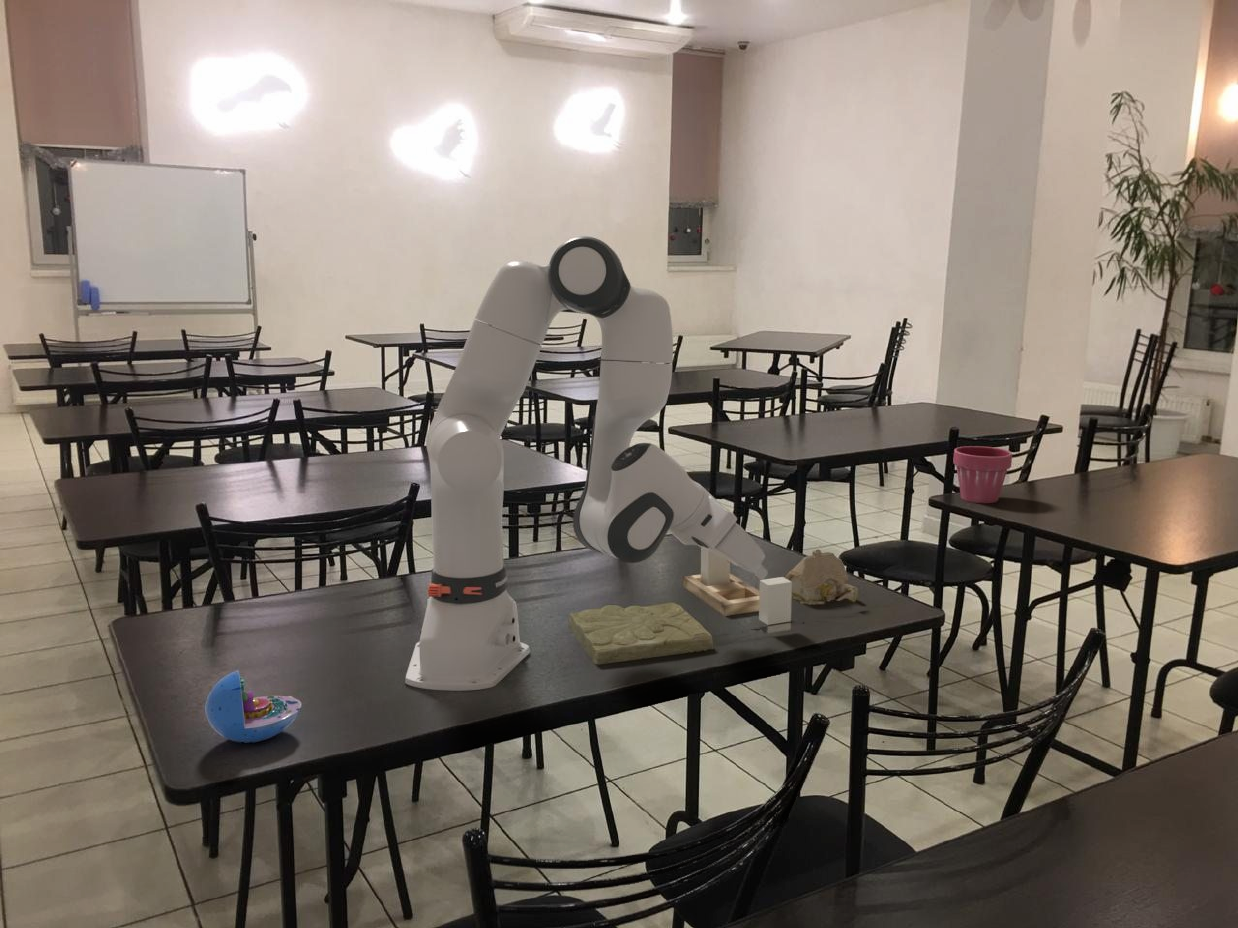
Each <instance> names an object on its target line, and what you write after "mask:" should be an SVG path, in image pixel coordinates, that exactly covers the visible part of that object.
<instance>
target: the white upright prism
mask: <svg viewBox="0 0 1238 928" xmlns="http://www.w3.org/2000/svg"><path fill="white" fill-rule="evenodd" d="M730 573H731V564H729V563H728V562H727V561H726V560H725V559H723V558H721V557H719V556H717V555H715V554H713V553H711V552H709V551H707V550H705V549H703V548H701V547H700V574H701V583H703V584H704V585H706V586H712V585H719V584H726V583H730Z"/></svg>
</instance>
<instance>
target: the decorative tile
mask: <svg viewBox="0 0 1238 928" xmlns="http://www.w3.org/2000/svg"><path fill="white" fill-rule="evenodd" d="M568 628H569V630H570V631H571V633H572V634H573V636H574V637H575V639H576V640H577V642H578V643H579V644H580V646H581V647H582V649H583V650H584V652H585V653H586V654H587V655H588V657H589V658H590V659H591V661H592V663H593V664H594V665H597V666H598V665H605V664H611V663H612V664H613V663H619V662H627V661H628V662H629V661H635V660H643V658H644V659H650V658H657V657H666V656H672V655H673V656H674V655H681V654H686V653H688V652H689V653H695V652H694V651H696V652H701V651H700V650H704V651H708V650H707V649H711V650H713V649H714V643H713V641H714V640H713V636H712V635H711V633H709V631H708V630H707V629H706V628H704V626H703V625H702V624H701V623H700V622H699V621H697V620H696V619H695V618H694V617H693V616H691V614H689V613H688V612H687V611H686V610H685V609H684V608H683V607H682V606H681V605H680V604H676V603H675V602H667V603H662V604H661V603H660V604H656V605H647V606H640V605H630V606H627V607H622V606H620V605H614V604H613V605H611V604H608V605H604V606H603V607H602V608H590V609H589V608H588V609H584V610H583V611H578V612H570V613H569V619H568Z"/></svg>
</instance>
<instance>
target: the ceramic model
mask: <svg viewBox="0 0 1238 928" xmlns="http://www.w3.org/2000/svg"><path fill="white" fill-rule="evenodd" d="M785 578H786V579H788V580H789V581H791V582H792V596H791V599H794V600H796V601H799V604H805V605H810V606H811V605H825V604H826V602H830V601H834V600H836V601H839V602H840V601H843V600H844V599H847V600H848V601H851V602H853V603H855V602H856V600H857V598H858V596H859V594H858V592H859V589H858V588H857V586H853V585H851V584H848V583H846V581H848V580H849V575H848V573H847V570H846V567H845V564H844V563H843V561H842V559H841V558H839V557H837V556H836V555H835V554H834V552H830V551H826V552H822V550H821V549H816V550H814V549H813V550H812V555H811V554H810V555H807V556H805V557H804V556H803V558H802V560H800V562H798V563H797V564H796V565H795V566H794V568H793V569H791V570H790V571H789V572H788V573H787V574H786V575H785ZM836 598H837V599H836Z"/></svg>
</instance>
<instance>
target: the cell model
mask: <svg viewBox="0 0 1238 928" xmlns="http://www.w3.org/2000/svg"><path fill="white" fill-rule="evenodd" d="M211 688H212V689H211V690H210V691H209V693H208V694H207V697H206V701H205V706H204V711H205V716H206V719H207V722H208V723H209V725H210V726H211V728H212V729H213V730H214V731H215V732H216V733H217V734H218V735H220V736H221V737H223V738H224V739H227V740H229V741H233V742H237V743H241V742H244V743H245V744H249V743H250V742H252V743H258V742H262V741H265V740H268V739H271V738H272V737H274V736H278V735H279V734H281V732H283V731H284V730H286V728H288V727H289V726H290V725H292V723H293V722H294V721H296V719H297V717H298V715H299V712H300V710H301V707H302V702H301V701H300V700H299V699H298V698H295V697H293V696H292V695H289V696H286V695H284V696H283V695H266V696H265V695H264V696H256V697H254V692H253V690H250V691H246V690H245V683H244V677H240V671H239V669H237V670H235V671H232V672H231V673H228V674H226V675H225V676H223V677H222V678H221V679H220V680H219V681H218V682H216V683H215V684H214V686H213V687H211Z"/></svg>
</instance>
